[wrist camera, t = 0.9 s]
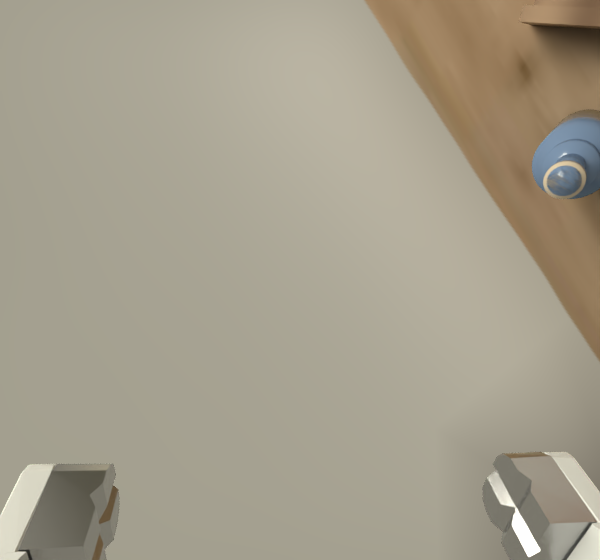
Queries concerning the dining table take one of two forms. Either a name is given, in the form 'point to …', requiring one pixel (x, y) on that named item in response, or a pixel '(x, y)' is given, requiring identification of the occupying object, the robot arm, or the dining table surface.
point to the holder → (563, 13)
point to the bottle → (570, 157)
